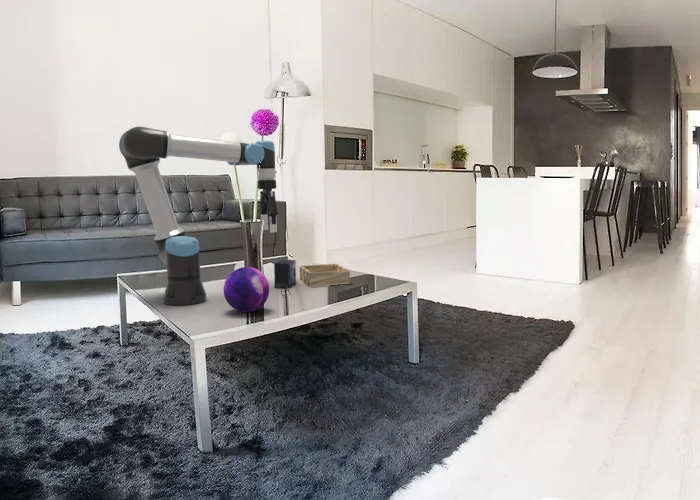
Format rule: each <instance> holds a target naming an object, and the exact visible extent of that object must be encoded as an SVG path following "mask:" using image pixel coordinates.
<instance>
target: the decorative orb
mask: <svg viewBox="0 0 700 500" xmlns="http://www.w3.org/2000/svg"><path fill="white" fill-rule="evenodd" d="M269 294H270V284H269V280H268V279H267V277H266V275H265V274H264V273H263V272H262V271H260V270H259V269H257V268H255V267H251V266H243V267H238V268H236V269H234V270H233V271H232V272H231V273H229V275H228V276H227V277H226V279H225V281H224V285H223V296H224V298H225V301H226V302H227V304H228V305H229V306H230V307H231V308H232V309H234V310H236V311H239V312H242V313H251V312H254V311H257V310H258V309H260V308H261V307H263V306H264V305H265V303H266V302H267V300H268V298H269V296H270V295H269Z"/></svg>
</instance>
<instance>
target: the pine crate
mask: <svg viewBox="0 0 700 500" xmlns="http://www.w3.org/2000/svg"><path fill="white" fill-rule="evenodd" d="M298 271H299V280H300V281H301V282H302V281H303V282H304V284H305V285H306V286H307V287H308V288H309V287H310V288H309V289H311V288H322V287H323V286H326V287H331V286H330V285H337V284H347V283H350V284H351V279H350V278H351V275H350V274H351V273H350V272H351V271H350V270H349V269H348V268H345V267H343V266H342V265H339V264H338V263H329V264H328V263H327V264H309V265H299V270H298ZM303 282H302V283H303ZM323 288H324V287H323Z"/></svg>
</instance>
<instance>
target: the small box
mask: <svg viewBox="0 0 700 500" xmlns="http://www.w3.org/2000/svg"><path fill="white" fill-rule="evenodd" d="M273 266H274V267H273V273H274V275H273V276H274V289H290V288H291V287H294V286H295V285H296V284H297V274H296V273H297V272H296V271H297V270H296V269H297V265H296V259H280V260H277V261H275V262H274V263H273Z"/></svg>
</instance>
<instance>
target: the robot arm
mask: <svg viewBox="0 0 700 500" xmlns="http://www.w3.org/2000/svg"><path fill="white" fill-rule="evenodd" d="M262 141H263V143H262ZM118 143H119V144H118V148H119V152H120V153H121V156H123V158H124V160H125V163H126V166H127V168H128V170H129V171H131V172H133V173H134V175H135V179H136V180H137V183H138V187H139V189H140V192H141V195H142V197H143V198H142V199H143V200H144V203H145V206H146V208H147V212H148V213H149V217H150V219H151V223H152V225H153V228H154V231H155V235H154V238H153V241H154V243H155V246H156V249H157V257H158V259H159V261H160V262H161V263H162V264H163V265H164V266H166V274H167V283H166V287H165V290H164V294H163V304H165V305H168V306H189V305H196V304H200V303H204V302H206V301H207V300H208V299H207V298H208V297H207V293H206V289H205V287H204V284H203V282H202V278H201V277H202V276H201V259H200V255H201V254H200V248H201V247H200V243H199V240H198V238H196V237H194V236H187V235H186V231H185V229H183V228H182V227H180V226H179V223H178V221H177V218H176V215H175V212H174V209H173V206H172V204H171V201H170V198H169V195H168V192H167V188H166V186H165V184H164V180H163V178H162V175H161V172H160V169H159V164H160V163H161V160H160V159H167V158H169V157H174V158H175V157H176V158H185V159H197V160H208V161H210V160H211V161H216V162H219V161H220V162H227V165H230V166H250V165H251V166H255V165H256V179H258V172H259V179H258V180H259V181H258V180H257V189H258V190H260V192H259V193H260V194H259V196H260V198H259V209H258V212H259V214H260V221H261V220H264V226H263V230H262V231H268V230H269V233H271V234H273V233H277V232H278V225H277V223H278V221H277V215H279V211H278V204H277V201H276V192H275V191H273V190H275V189H277V180H276V179H277V178H276V174H277V173H278V171H277V170H276V150H275V144H274V141H271V140H257V141H256V142H255V143H254V142H251V143H246V142H237V141H231V140H230V141H229V140H222V139H221V140H220V139H214V138H202V137H195V136H186V135H180V134H179V135H178V134H177V135H176V134H172V133H171V134H170V132H169V131H167V130H159V129H155V128H150V127H145V126H133V127H131V128H129V129H128V130H126V131H125V132H123V134H122V135H121V136H120V139H119V141H118ZM261 145H262V146H261ZM260 162H261V163H260ZM234 163H235V165H234ZM259 165H260V169H259Z"/></svg>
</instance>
